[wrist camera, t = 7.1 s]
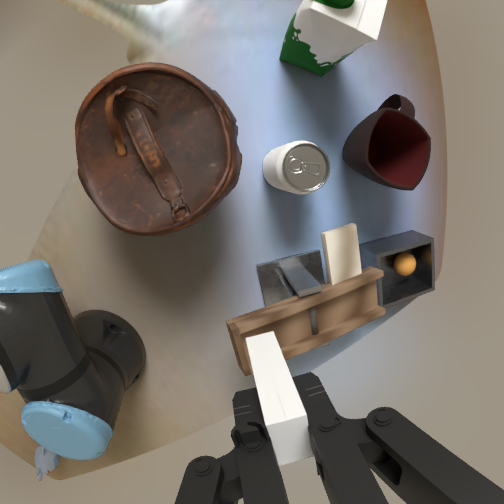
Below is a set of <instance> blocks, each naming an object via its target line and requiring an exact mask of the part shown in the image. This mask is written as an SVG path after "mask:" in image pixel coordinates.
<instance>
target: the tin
mask: <svg viewBox="0 0 504 504" xmlns="http://www.w3.org/2000/svg"><path fill="white" fill-rule="evenodd" d="M359 252H360V261H361V270H363V269H365V268H368V267H370V266H372V267H374V268H377V269H380V270H383V273H384V276H383V277H381V278H378V279H376V285H377V301H378V305H379V306H381V307H383V308H387V307H390V306H393V305H396V304H399V303H401V302H404V301H407V300H410V299H412V298H415V297H418V296H420V295H423V294H425V293H428V292H431V291H433V290H434V289H435V262H434V238H432V237H429V236H427V235H424V234H421V233H418V232H416V231H413V230H411V231H407V232H404V233H400V234H396V235H392V236H389V237H385V238H381V239H378V240H374V241H370V242H366V243H362V244H359ZM402 252H408V253H410V254H412V255H413V256H414V258H415V260H416V268H415V270H414V271H413V273H411V274H410V275H407V276H403V275H400V274H398V273H397V272H396V270H395V268H394V260H395V258H396V256H397V255H398V254H400V253H402Z"/></svg>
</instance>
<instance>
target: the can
mask: <svg viewBox="0 0 504 504" xmlns="http://www.w3.org/2000/svg"><path fill="white" fill-rule="evenodd" d="M329 173H330V163H329V159H328V157H327V155H326V154H325V152H324V151H323V150H322V149H321V148H320V147H318V146H317V145H315V144H314V143H311V142H308V141H294V142H291V143H288V144H285V145H282V146H279V147H276V148H274V149H272V150H271V151H270V152H269V153H268V154H267V155H266V156H265V158H264V161H263V174H264V177H265V179H266V180H267V181H268V183H269V184H271V185H272V186H273V187H275V188H278V189H281V190H284V191H288V192H291V193H295V194H310V193H313V192H315V191H316V190H318V189H319V188H320V187H322V186H323V185H324V184H325V182H326V181H327V179H328V177H329Z"/></svg>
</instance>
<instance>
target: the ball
mask: <svg viewBox="0 0 504 504" xmlns="http://www.w3.org/2000/svg"><path fill="white" fill-rule="evenodd" d="M394 268H395V270H396V272H397V273H398V274H400V275H403V276H407V275H410V274H411V273H413V271H414V270H415V268H416V260H415V258H414V256H413V255H412V254H410V253H408V252H402V253H400V254H398V255H397V256H396V258H395V260H394Z"/></svg>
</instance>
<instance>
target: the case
mask: <svg viewBox="0 0 504 504" xmlns="http://www.w3.org/2000/svg"><path fill="white" fill-rule="evenodd" d="M237 135H238V126H237V125H236V118H235V117H234V115H233V114H232V112H231V110H230V109H229V107H228V106H227V104H226V103H225V101H224V100H223V99H222V98H221V96H220V95H219V94H218V93H217V92H216V91H215V90H212V89H211V88H209V87H208V86H207V85H206V84H204V83H203V82H202V81H200V80H199V79H197V78H196V77H195V76H193V75H191V74H190V73H188V72H186V71H184V70H182V69H180V68H178V67H175V66H172V65H168V64H163V63H153V62H148V63H140V64H135V65H130V66H126V67H123V68H121V69H118V70H116V71H114V72H112V73H111V74H110V75H108V76H107V77H105V78H104V79H102V80H101V81H100V82H99V83H98V84H97V85H96V86H95V87H94V88H93V89H92V90H91V91H90V92H89V93H88V95H87V96H86V97H85V99H84V101H83V102H82V104H81V106H80V109H79V111H78V114H77V118H76V122H75V138H76V152H77V160H78V176H79V179H80V181H81V184H82V186H83V188H84V189H85V191H86V193H87V195H88V196H89V197H90V199H91V200H92V201H93V203H94V204H95V205H96V207H97V208H98V209H99V211H100V212H101V213H102V215H103V216H104V217H105V218H106V219H107V220H108V221H109V222H110V223H111V224H112V225H114V226H115V227H117V228H118V229H120V230H122V231H124V232H127V233H130V234H134V235H140V236H156V235H163V234H167V233H171V232H175V231H178V230H180V229H183V228H186V227H188V226H191V225H193V224H194V223H197V222H198V221H200V220H201V219H203V218H204V217H206V216H207V215H208V214H209V213H210V212H211V211H212V210H213V209H214V208H215V207H216V206H217V205H218V204H219V203H220V202H221V201H222V199H223V198H224V197H226V196H227V195H228V194H229V193H230V192H231V190H232V189H233V188H234V187H235V186H236V184H237V182H238V179H239V175H240V170H241V164H242V154H241V153H240V151H239V147H238V145H237Z"/></svg>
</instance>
